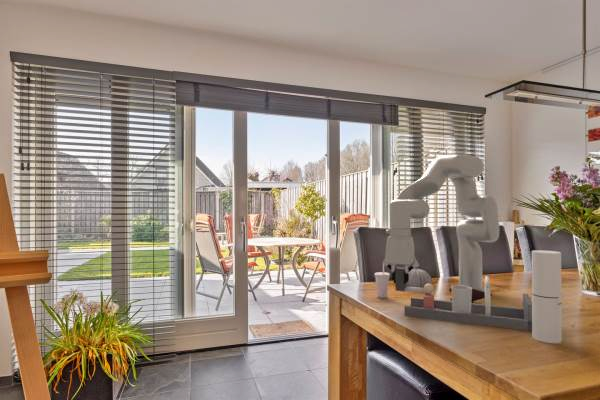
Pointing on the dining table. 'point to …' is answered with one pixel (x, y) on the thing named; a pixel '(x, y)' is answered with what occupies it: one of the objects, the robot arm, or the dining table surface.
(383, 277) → the smoothie
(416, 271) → the sea urchin shell
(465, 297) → the drinking glass
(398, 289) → the foosball rod
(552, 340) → the cylindrical container
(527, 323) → the grey walled channel
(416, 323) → the dining table surface
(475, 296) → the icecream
